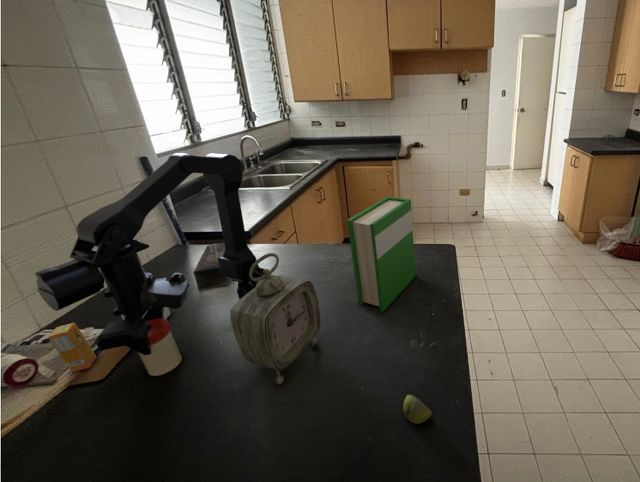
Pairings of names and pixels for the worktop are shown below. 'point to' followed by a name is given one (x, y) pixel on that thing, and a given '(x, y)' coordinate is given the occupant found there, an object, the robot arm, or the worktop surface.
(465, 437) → the worktop surface
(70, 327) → the supplement box
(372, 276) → the hardback book
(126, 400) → the worktop surface
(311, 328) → the tabletop clock
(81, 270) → the robot arm
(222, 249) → the beverage carton
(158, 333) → the jam lid
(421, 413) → the lime
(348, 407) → the worktop surface
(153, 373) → the jam jar
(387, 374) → the worktop surface
